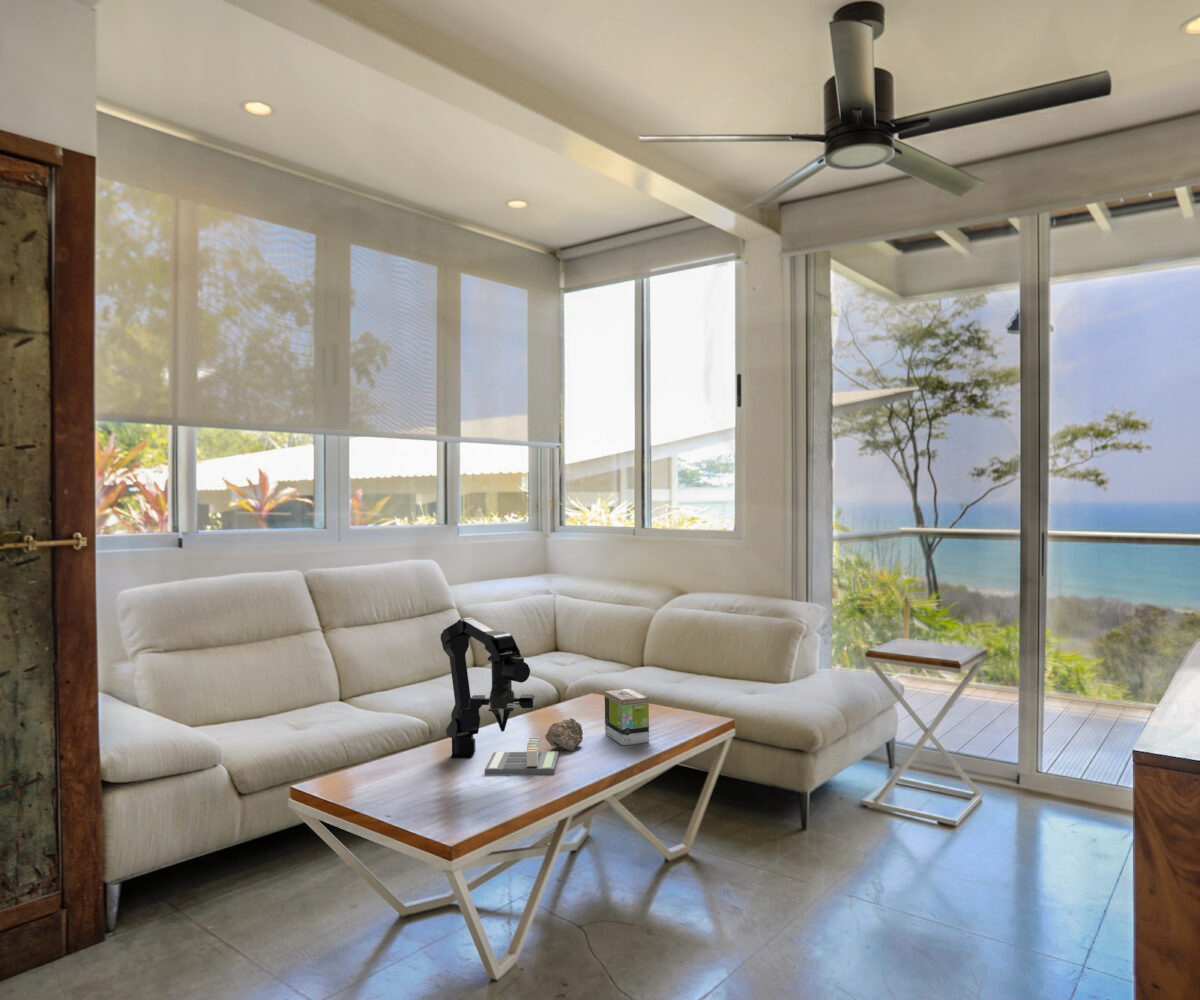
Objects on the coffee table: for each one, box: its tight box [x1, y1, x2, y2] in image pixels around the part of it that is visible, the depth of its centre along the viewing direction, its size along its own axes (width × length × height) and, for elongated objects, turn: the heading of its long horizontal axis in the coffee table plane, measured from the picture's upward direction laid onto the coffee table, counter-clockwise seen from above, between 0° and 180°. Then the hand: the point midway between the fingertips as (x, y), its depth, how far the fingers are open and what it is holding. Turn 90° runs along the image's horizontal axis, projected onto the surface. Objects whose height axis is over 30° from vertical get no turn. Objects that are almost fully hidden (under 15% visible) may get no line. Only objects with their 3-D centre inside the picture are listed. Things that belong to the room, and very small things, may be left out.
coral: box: [544, 718, 584, 752], centre depth 261 cm, size 14×9×10 cm, turn 141°
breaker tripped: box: [526, 747, 538, 766], centre depth 238 cm, size 3×3×5 cm
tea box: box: [604, 688, 650, 746], centre depth 269 cm, size 15×10×15 cm
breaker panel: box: [484, 751, 560, 776], centre depth 244 cm, size 20×16×2 cm
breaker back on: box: [528, 736, 541, 754], centre depth 249 cm, size 3×3×5 cm
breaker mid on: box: [526, 741, 538, 749], centre depth 244 cm, size 3×3×5 cm
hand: (502, 731), depth 239 cm, fingers closed
